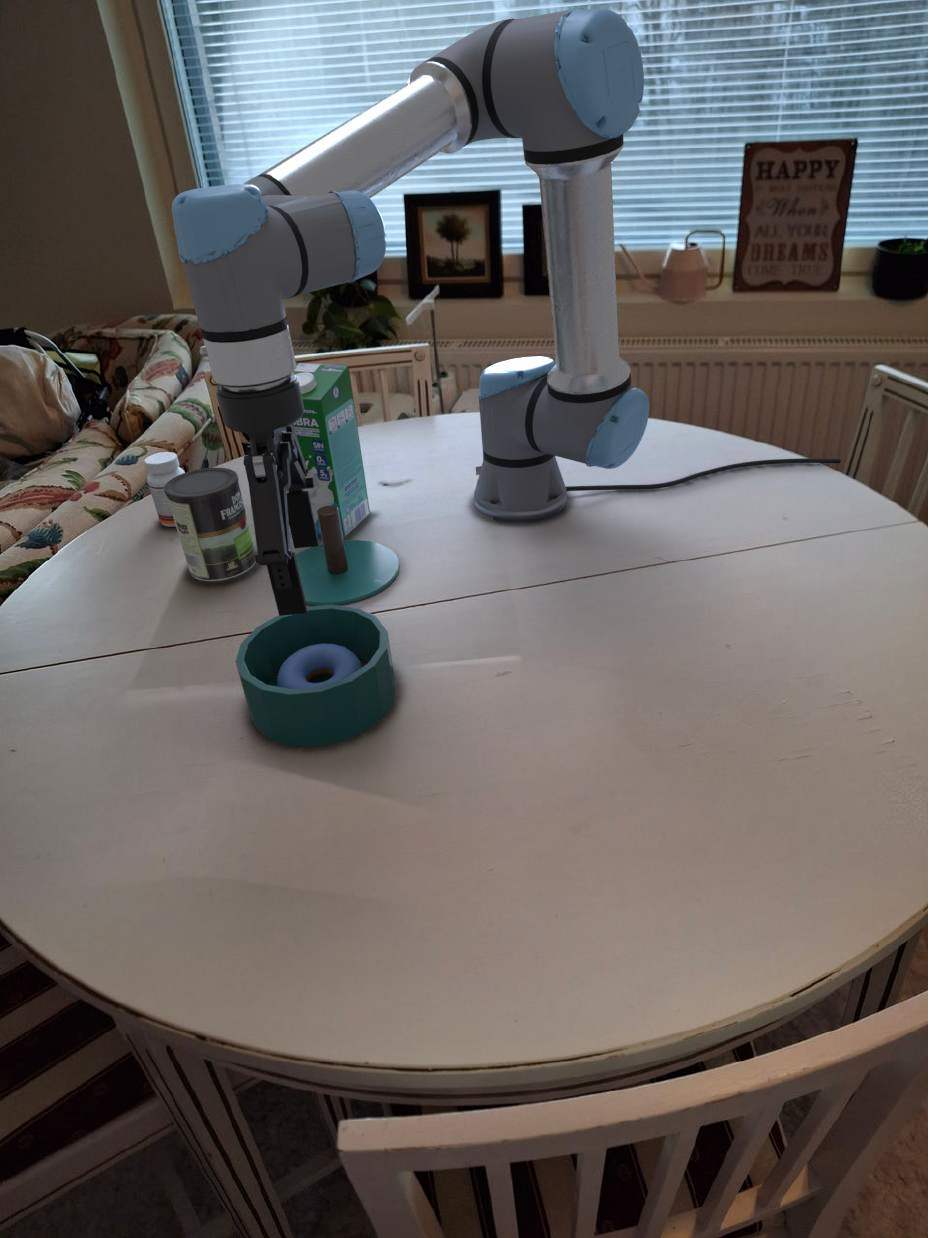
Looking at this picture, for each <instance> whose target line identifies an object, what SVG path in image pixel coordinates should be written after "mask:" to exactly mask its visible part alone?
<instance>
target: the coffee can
mask: <svg viewBox="0 0 928 1238" xmlns="http://www.w3.org/2000/svg"><path fill="white" fill-rule="evenodd" d="M239 480H240V479H239V475H238V473H237V472H236V471H235V470H232V469H231V468H226V467H203V468H198V469H193V470H189V471H186V472H185V473H183V474H181V475H178V476H176V477H174V478H173V479H171V480H170V481H168V482H167V483H166V485H165V486H164V491H165V494H166V496H167V498H168V501H169V504H170V508H171V512H172V515H173V518H174V522H175V525H176V527H175V528H176V531H177V535H178V538H179V541H180V545H181V549H182V552H183V554H184V558H185V562H186V565H187V568H188V572H189V574H190V575H191V577H193V578H194V579H196V580H199V581H206V582H219V581H224V580H229V579H232V578H237V577H238V576H241V575H242V574H245V573H246V572H248V571H249V570H251V569H252V568H253V567H254V566H255V565H256V563H257V562H256V560H255V555H257V554H256V550H255V546H254V542H253V541H254V540H253V538H252V537H253V536H252V533H251V529H250V526H249V525H250V524H249V521H248V517H247V516H248V515H247V513H246V508H245V504H244V500H243V495H242V491H241V486H240V482H239Z"/></svg>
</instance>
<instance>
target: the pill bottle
mask: <svg viewBox="0 0 928 1238" xmlns="http://www.w3.org/2000/svg"><path fill="white" fill-rule="evenodd" d="M143 461H144V465H145V469H146V472H147V473H148V474H147V478H146V481H147V486H148V489H149V492H150V495H151V498H152V501H153V504H154V507H155V510H156V513H157V517H158V520H159V522H160V524H161V525H162V526H164V527H168V528H176V525H175V522H174V518H173V515H172V512H171V508H170V504H169V501H168V498H167V496H166V494H165V491H164V486H165V485H166V483H167V482H168V481H170V480H171V479H173V478H174V477H176V476H178V475H181V474H183V473H186V472H185V470H184V469H183V468H182V467H180V461H179V458H178V455H177V454H176V452H172V451H161V452H157V453H153V454H151V455H149V456H147V457H146V458H145V459H144V460H143Z"/></svg>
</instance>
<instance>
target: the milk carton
mask: <svg viewBox="0 0 928 1238" xmlns="http://www.w3.org/2000/svg"><path fill="white" fill-rule="evenodd" d="M293 374H294V375H295V376H296V377H297V378H298V380H299V385H300V390H301V395H302V401H303V406H304V413H303V415H302V417H301V418H300V419H299V420H298V421H296V422H295V423H293V426H294V430H295V433H296V436H297V439H298V442H299V445H300V448H301V451H302V454H303V457H304V460H305V464H306V467H307V469H308V476H306V478H313V480H314V488H309V489H304V491H308V492H309V497H310V502H311V507H312V512H313V517H314V522H315V526H316V531H317V535H321V532H320V526H319V521H318V516H317V510H318V509H319V508H321V507H324V506H336V507H337V508H338V510H339V515H340V521H341V527H342V533H343V539H344V538H346V537H347V536H348V535H349V534H350V533H351V532H352V531H353V530H354V529H355V528H356V527H357V526H358V525H359V524H361V522H362V521H363V520H365V519H366V518H367V517H368V516H369V515H370V514H371V509H370V503H369V496H368V488H367V483H366V482H367V481H366V475H365V469H364V461H363V456H362V448H361V442H360V434H359V427H358V421H357V414H356V413H357V412H356V407H355V400H354V395H353V394H354V393H353V387H352V381H351V373H350V367H349V365H343V364H325V363H309V362H307V363H306V362H296V369H295V371H294V372H293ZM287 493H289V491H287Z"/></svg>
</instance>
